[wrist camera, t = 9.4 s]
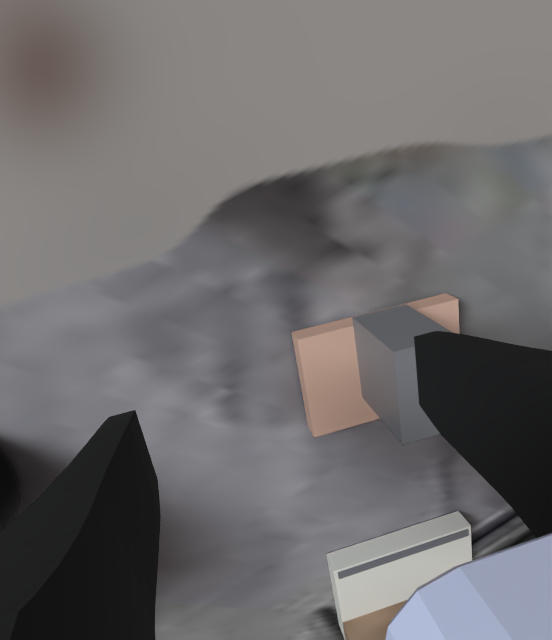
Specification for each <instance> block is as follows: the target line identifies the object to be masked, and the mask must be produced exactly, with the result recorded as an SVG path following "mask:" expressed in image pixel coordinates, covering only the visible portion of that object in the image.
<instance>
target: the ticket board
mask: <svg viewBox="0 0 552 640" xmlns="http://www.w3.org/2000/svg"><path fill="white" fill-rule="evenodd" d="M326 555H327V561H328V566H329V572H330V577H331V583H332V589H333V594H334V600H335V605H336V611H337V616H338V622H339V626H340V628H341V631H342V633H343V636H344V639H345V640H385V639H386V634H387V629H388V626H389V624H390V622H391V620H392V618H393V617H394V616H395V615H396V613H397V612H398V611H399V610H400V608H401V607H402V606H403V605H404V604H405V602H406V601H407V600H408V599H409V597H410V596H411V595H412V594H413V592H414V591H415V590H416V589H417V588H418V587H420V586H421V585H423V584H425V583H427V582H428V581H430V580H432V579H434V578H435V577H437V576H439V575H441V574H442V573H444V572H446V571H448V570H449V569H451V568H453V567H455V566H458V565H461V564H463V563H466V562H469V561H472V546H471V525H470V524H469V523H468V522H467V521H466V519H465V518H464V517H463V516H462V515H461V513H460V512H459V511H456V512H453V513H450V514H447V515H444V516H441V517H438V518H435V519H432V520H428V521H425V522H422V523H419V524H416V525H413V526H410V527H407V528H404V529H401V530H398V531H395V532H392V533H389V534H386V535H383V536H380V537H377V538H373V539H370V540H367V541H364V542H361V543H358V544H355V545H352V546H349V547H346V548H343V549H340V550H337V551H334V552H331V553H328V554H326Z"/></svg>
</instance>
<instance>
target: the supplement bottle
mask: <svg viewBox="0 0 552 640" xmlns="http://www.w3.org/2000/svg"><path fill="white" fill-rule="evenodd" d="M19 501H20V490H19V483H18V480H17V477H16V474H15V472H14V470H13V468H12V466H11V464H10V463H9V461H8V460H7V459H6V457H5V456H4V455H3V454H2V453H1V452H0V532H1V531H2V530H4V529H5V528H6V527H7V526H8V525H9V524H11V523H12V522H13V521H14V520H15V518H16V515H17V512H18V508H19Z"/></svg>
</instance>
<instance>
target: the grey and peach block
mask: <svg viewBox="0 0 552 640" xmlns="http://www.w3.org/2000/svg"><path fill="white" fill-rule="evenodd" d="M433 331H444V332H452V333H458V334H460V331H459V307H458V299H457V298H455V297H453V296H451V295H449V294H447V293H445V294H441V295H437V296H433V297H429V298H425V299H421V300H417V301H413V302H409V303H405V304H401V305H397V306H394V307H390V308H386V309H382V310H378V311H374V312H370V313H366V314H362V315H358V316H354V317H350V318H346V319H342V320H338V321H334V322H330V323H326V324H322V325H318V326H314V327H310V328H306V329H302V330H298V331H294V332H292V338H293V343H294V349H295V355H296V360H297V366H298V372H299V377H300V383H301V389H302V394H303V400H304V406H305V411H306V417H307V423H308V427H309V429H310V431H311V433H312V434H313V436H314V438H315V437H318V436H322V435H325V434H328V433H332V432H335V431H339V430H342V429H346V428H349V427H353V426H356V425H360V424H363V423H367V422H370V421H374V420H377V419H381V420H382V421H383V423H384V424H385V425H386V426H387V427H388V429H389V430H390V431H391V432H392V433H393V435H394V436H395V437H396V438H397V439H398V441H399V442H400V443H401V444H402V445H405V444H408V443H412V442H415V441H418V440H422V439H425V438H428V437H432V436H435V435H438V434H440V433H439V431H438V430H437V429H436V427H435V426H434V425H433V423H432V422H431V421H430V419H429V418H428V417H427V415H426V414H425V412H424V411H423V409H422V408H421V407H420V405H419V396H418V383H417V370H416V357H415V344H414V336H418V335H422V334H426V333H430V332H433Z"/></svg>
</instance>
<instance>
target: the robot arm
mask: <svg viewBox="0 0 552 640" xmlns="http://www.w3.org/2000/svg"><path fill="white" fill-rule="evenodd" d="M414 344H415V357H416V370H417V383H418V396H419V405H420V407H421V408H422V409H423V411H424V412H425V414H426V415H427V417H428V418H429V419H430V421H431V422H432V423H433V425H434V426H435V427H436V429H437V430H438V431H439V433H440V434H441V435H442V436H443V437H444V438H445V439H446V440H447V441H448V442H449V443H450V444H451V445H452V446H453V447H454V448H455V449H456V450H457V451H458V453H459V454H460V455H461V456H462V457H463V458H464V459H465V460H466V461H467V462H468V463H469V464H470V465H471V466H472V467H473V468H474V469H475V470H476V471H477V472H478V473H479V474H480V475H481V476H482V477H483V478H484V479H485V480H486V481H487V482H488V483H489V484H490V485H491V486H492V487H493V488H494V489H495V490H496V491H497V492H498V493H499V494H500V495H501V496H502V497H503V498H504V499H505V500H506V501H507V503H508V504H509V505H510V506H511V507H512V508H513V509H514V511H515V512H516V513H517V514H518V516H519V517H520V518H521V519H522V520H523V522H524V523H525V524H526V525H527V527H528V528H529V529H530V530H531V532H532V533H533V534H534V535H535V537H536V539H533V540H530V541H527V542H524V543H521V544H518V545H515V546H513V547H510V548H507V549H504V550H501V551H498V552H495V553H492V554H489V555H487V556H484V557H481V558H478V559H475V560H472V561H469V562H466V563H463V564H461V565H458V566H455V567H453V568H451V569H449V570H448V571H446V572H444V573H442V574H441V575H439V576H437V577H435V578H434V579H432V580H430V581H428V582H427V583H425V584H423V585H421V586H420V587H418V588H417V589H416V590H415V591H414V592H413V594H412V595H411V596H410V597H409V599H408V600H407V601H406V602H405V604H404V605H403V606H402V607H401V608H400V610H399V611H398V612H397V613H396V615H395V616H394V617H393V618H392V620H391V622H390V624H389V626H388V629H387V634H386V639H385V640H552V351H549V350H542V349H536V348H530V347H524V346H519V345H513V344H508V343H503V342H498V341H493V340H488V339H483V338H478V337H474V336H469V335H463V334H458V333H452V332H444V331H433V332H430V333H426V334H422V335H418V336H414ZM159 534H160V503H159V491H158V480H157V476H156V473H155V470H154V467H153V464H152V461H151V458H150V455H149V452H148V449H147V445H146V442H145V439H144V436H143V433H142V430H141V427H140V424H139V421H138V418H137V414H136V411H135V410H134V411H130V412H126V413H122V414H118V415H115V416H111V417H109V418H108V419H107V420H106V421H105V422H104V423H103V424H102V425H101V427H100V428H99V429H98V430H97V431H96V433H95V434H94V435H93V436H92V438H91V439H90V440H89V441H88V443H87V444H86V445H85V446H84V447H83V449H82V450H81V451H80V452H79V453H78V455H77V456H76V457H75V458H74V459H73V461H72V462H71V463H70V464H69V465H68V466H67V467H66V469H65V470H64V471H63V472H62V473H61V474H60V475H59V476H58V477H57V478H56V479H55V480H54V482H53V483H52V484H51V485H50V486H49V487H48V488H47V489H46V490H45V491H44V492H43V493H42V494H41V495H40V496H39V497H38V498H37V499H36V500H35V501H34V502H33V503H32V504H31V505H30V506H29V507H28V508H27V509H26V510H25V511H24V512H23V513H22V514H21V515H19V516H18V517H17V518H16V519H15V520H14V521H13V522H12V523H11V524H9V525H8V526H7V527H6V528H5V529H4V530H2V531H1V532H0V640H155V599H156V583H157V567H158V551H159Z"/></svg>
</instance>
